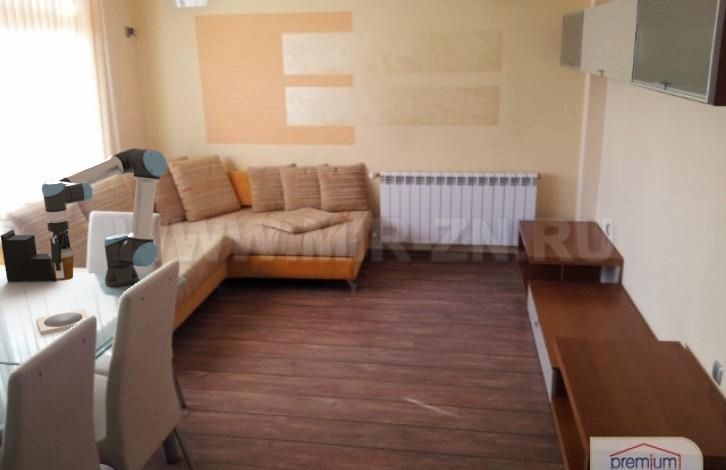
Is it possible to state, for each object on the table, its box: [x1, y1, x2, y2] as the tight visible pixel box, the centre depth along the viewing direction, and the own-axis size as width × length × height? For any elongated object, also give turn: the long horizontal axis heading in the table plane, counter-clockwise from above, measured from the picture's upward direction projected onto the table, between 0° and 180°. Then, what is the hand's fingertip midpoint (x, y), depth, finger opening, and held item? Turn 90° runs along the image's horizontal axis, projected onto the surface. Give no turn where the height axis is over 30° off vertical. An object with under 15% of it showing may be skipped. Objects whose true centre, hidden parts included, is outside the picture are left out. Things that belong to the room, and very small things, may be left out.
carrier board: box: [35, 308, 89, 335], centre depth 242 cm, size 18×15×2 cm
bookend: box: [0, 229, 58, 283], centre depth 291 cm, size 23×11×24 cm, turn 93°
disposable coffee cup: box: [48, 247, 75, 282], centre depth 245 cm, size 10×10×12 cm
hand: (64, 274), depth 246 cm, fingers closed on disposable coffee cup, 8 cm apart
